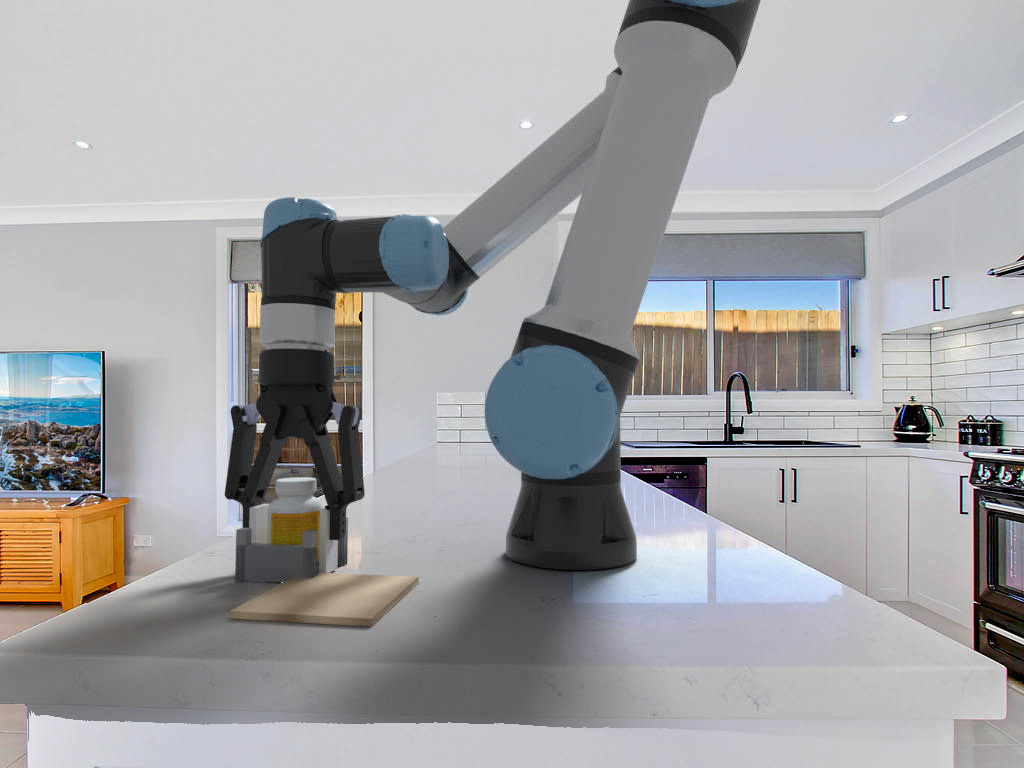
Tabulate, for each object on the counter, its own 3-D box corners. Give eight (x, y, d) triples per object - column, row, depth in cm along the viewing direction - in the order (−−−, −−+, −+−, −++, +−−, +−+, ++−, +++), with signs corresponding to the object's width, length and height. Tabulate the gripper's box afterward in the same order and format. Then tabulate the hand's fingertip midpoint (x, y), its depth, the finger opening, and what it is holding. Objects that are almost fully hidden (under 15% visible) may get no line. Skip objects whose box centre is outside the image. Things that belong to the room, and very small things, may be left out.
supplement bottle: (259, 570, 63) (261, 478, 64) (310, 562, 67) (311, 475, 67) (276, 582, 59) (278, 483, 59) (329, 573, 62) (331, 479, 63)
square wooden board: (418, 583, 59) (418, 576, 59) (371, 626, 47) (371, 618, 47) (302, 577, 60) (302, 571, 60) (229, 618, 49) (229, 610, 49)
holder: (347, 563, 66) (347, 517, 66) (311, 584, 58) (312, 532, 58) (279, 560, 67) (280, 515, 68) (235, 580, 59) (236, 529, 60)
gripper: (400, 352, 66) (397, 564, 65) (232, 354, 69) (227, 557, 68) (374, 344, 59) (370, 584, 58) (187, 347, 62) (181, 575, 61)
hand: (293, 569), depth 63 cm, fingers open, 7 cm apart
